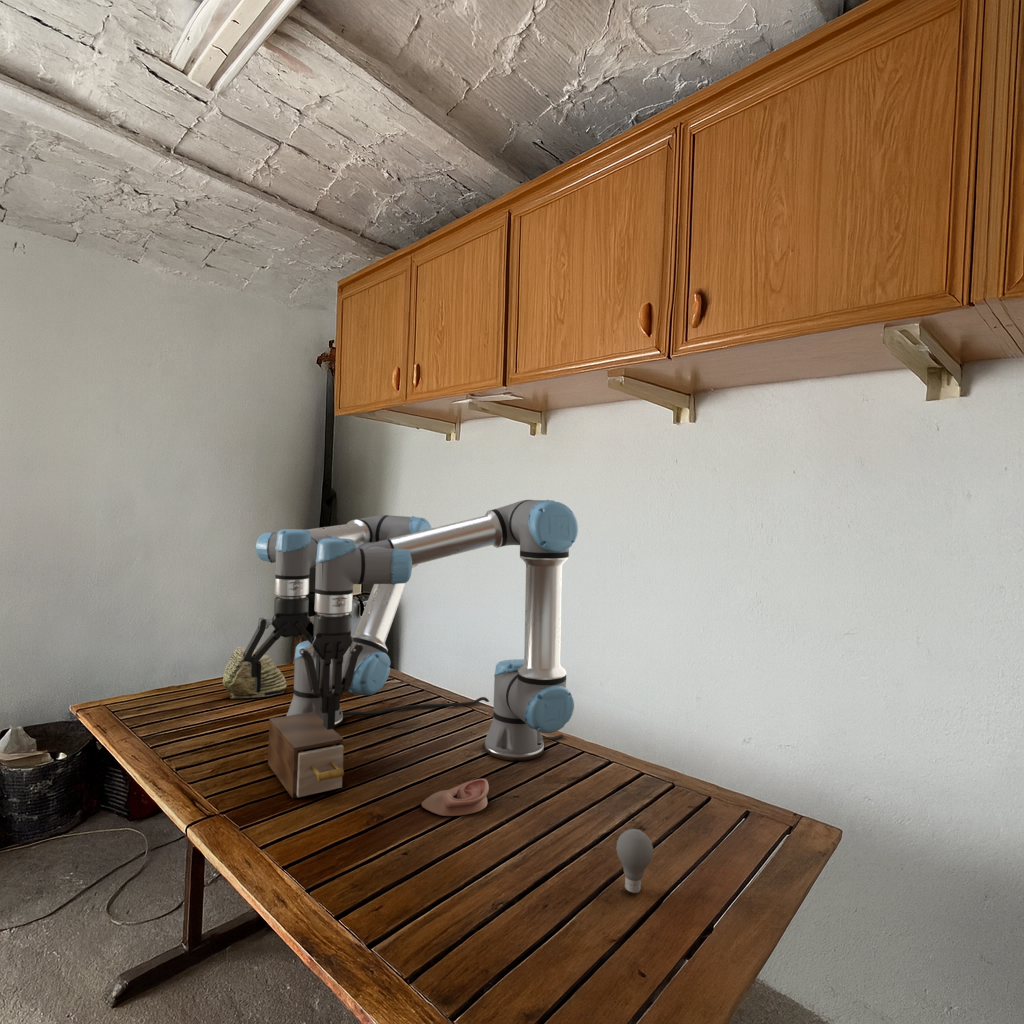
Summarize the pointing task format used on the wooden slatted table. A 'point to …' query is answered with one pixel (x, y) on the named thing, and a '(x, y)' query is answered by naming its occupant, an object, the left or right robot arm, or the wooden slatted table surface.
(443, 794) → the anatomical model
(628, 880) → the light bulb
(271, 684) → the fossil
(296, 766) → the cabinet
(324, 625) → the right robot arm
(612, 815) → the wooden slatted table surface
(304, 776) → the drawer
